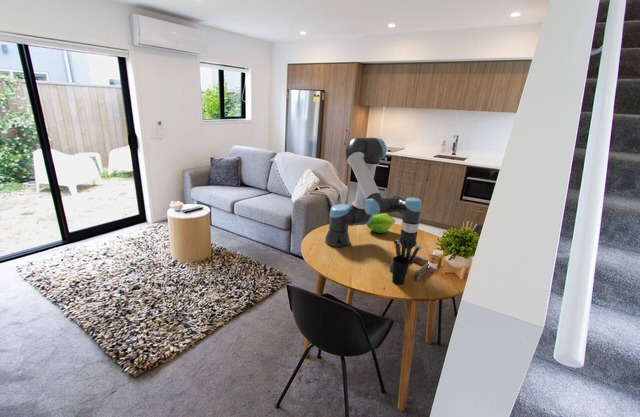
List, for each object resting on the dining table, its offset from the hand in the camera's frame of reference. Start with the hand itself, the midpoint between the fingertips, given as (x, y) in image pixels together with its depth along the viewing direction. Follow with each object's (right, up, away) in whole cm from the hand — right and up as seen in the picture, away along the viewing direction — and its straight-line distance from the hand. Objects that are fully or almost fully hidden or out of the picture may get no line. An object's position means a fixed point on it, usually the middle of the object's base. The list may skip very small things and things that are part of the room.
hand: (402, 274), depth 154 cm
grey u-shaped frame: (+6, +1, +9) cm, 11 cm away
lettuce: (0, +17, +58) cm, 60 cm away
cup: (-3, -3, -3) cm, 6 cm away
